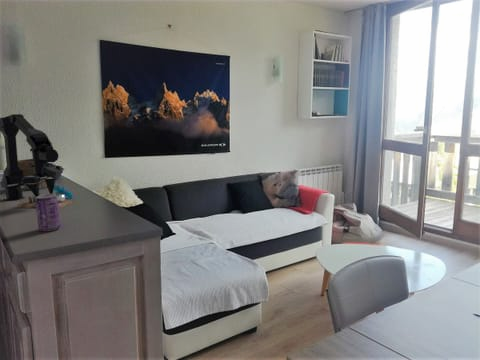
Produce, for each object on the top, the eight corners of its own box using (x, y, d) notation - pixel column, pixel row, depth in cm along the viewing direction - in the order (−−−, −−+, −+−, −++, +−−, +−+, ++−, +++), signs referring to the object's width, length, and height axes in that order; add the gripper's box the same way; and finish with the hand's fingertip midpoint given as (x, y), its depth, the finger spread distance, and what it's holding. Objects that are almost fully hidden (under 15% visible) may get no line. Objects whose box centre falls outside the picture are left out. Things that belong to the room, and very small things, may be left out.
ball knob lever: (29, 202, 178) (29, 196, 178) (36, 200, 182) (35, 194, 182) (61, 202, 175) (60, 196, 175) (67, 200, 180) (66, 194, 179)
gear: (77, 195, 189) (60, 183, 183) (70, 206, 186) (53, 194, 181) (67, 196, 197) (50, 184, 191) (60, 206, 194) (43, 194, 188)
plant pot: (58, 186, 227) (55, 158, 224) (30, 192, 214) (27, 162, 211) (41, 184, 236) (38, 157, 233) (14, 189, 222) (10, 161, 219)
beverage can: (43, 227, 143) (39, 194, 141) (64, 226, 143) (60, 193, 141) (35, 233, 136) (30, 198, 134) (56, 231, 136) (52, 197, 134)
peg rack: (18, 207, 176) (16, 197, 176) (33, 202, 186) (32, 193, 185) (58, 207, 173) (57, 197, 172) (72, 202, 182) (71, 192, 182)
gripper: (42, 164, 166) (47, 200, 168) (69, 158, 184) (73, 191, 186) (19, 164, 168) (24, 200, 170) (47, 159, 186) (51, 191, 188)
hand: (44, 195), depth 179 cm, fingers open, 9 cm apart
